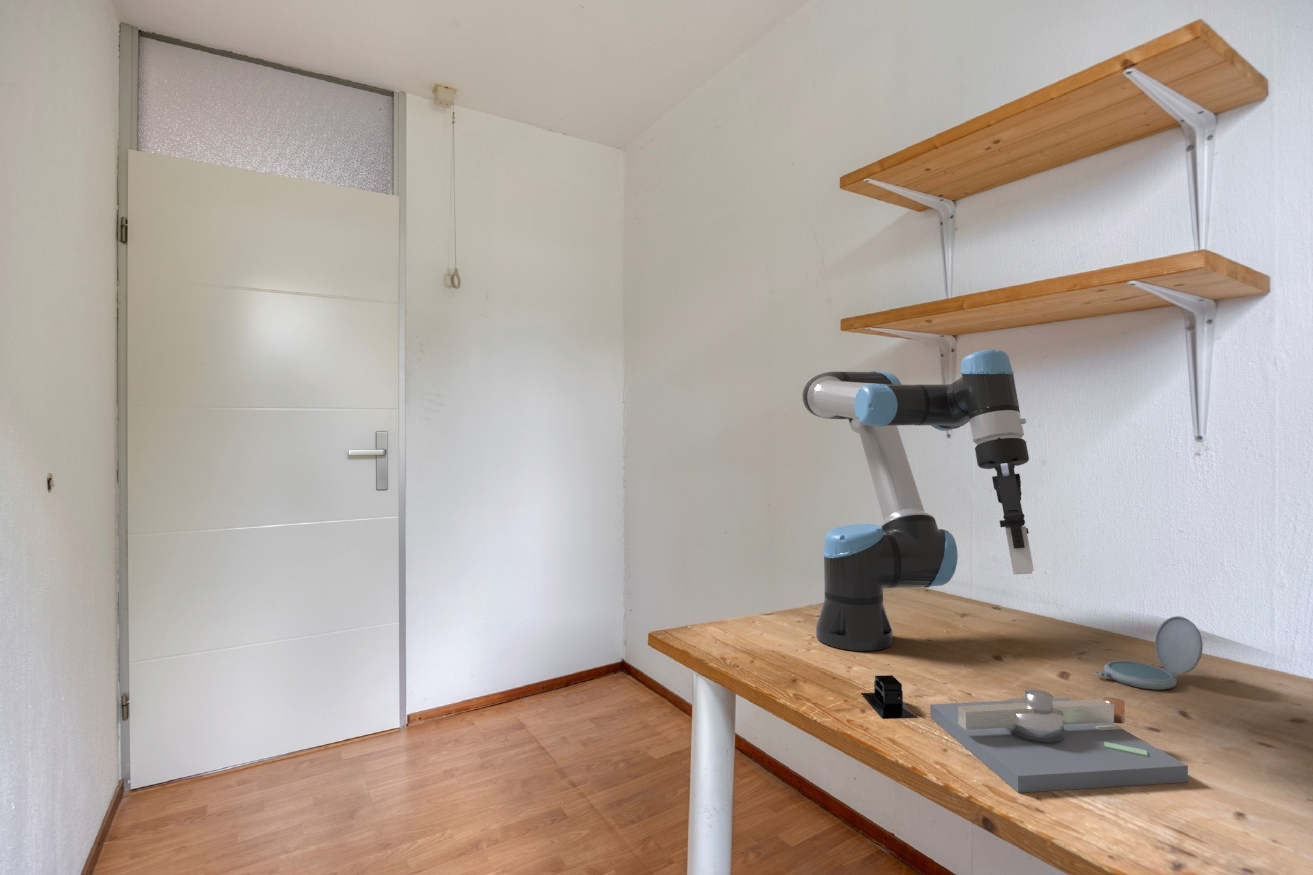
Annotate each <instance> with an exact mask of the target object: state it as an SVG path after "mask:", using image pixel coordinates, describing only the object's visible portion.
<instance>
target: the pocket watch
mask: <svg viewBox="0 0 1313 875" xmlns="http://www.w3.org/2000/svg"><path fill="white" fill-rule="evenodd" d="M1154 641H1155V642H1154V643H1155V644H1154V646H1155V654H1156V657H1157V660H1158V661H1159V663H1160V664H1161V666H1162V667H1163V668H1162V667H1159V666H1156V665H1152V664H1148V663H1144V662H1139V661H1133V660H1132V661H1130V660H1112V661H1109V662H1107V663H1106V664H1105V665H1104V666H1103V671H1094V675H1096V676H1098V677H1101V678H1108V677H1109V678H1110V679H1112V680H1114V681H1115V682H1118V683H1121V684H1123V685H1126V686H1130V687H1134V688H1138V689H1145V690H1153V691H1154V690H1155V691H1163V690H1169V689H1173V688H1174V687H1176V685H1177V683H1178V680H1177V678H1178V675H1182V674H1187V673H1190V672H1191V671H1192V670H1194V669H1195V668H1196V667H1197V665H1198V664H1199V662H1200V660H1201V658H1202V654H1203V638H1202V636H1201V632H1200V630H1199V628H1198V627H1197V625H1195V623H1194V622H1192V621H1191V620H1189V619H1188V618H1186V617H1183V616H1179V615H1177V616H1171V617H1169V618H1167V619H1166V620H1165V621H1163V622H1162V623H1161V624H1160V627H1159V628H1158V630H1157V632H1156V635H1155V640H1154ZM1097 673H1098V674H1097Z"/></svg>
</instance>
